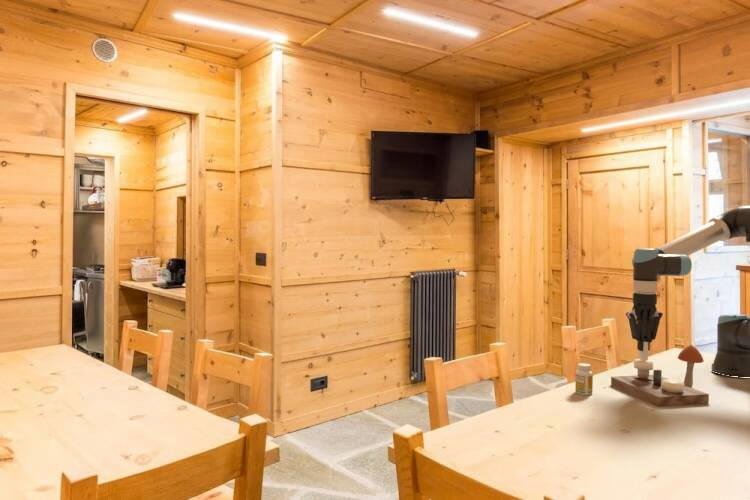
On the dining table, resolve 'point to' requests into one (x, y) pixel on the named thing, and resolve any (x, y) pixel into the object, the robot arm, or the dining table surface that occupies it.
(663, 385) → the knob
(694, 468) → the dining table surface
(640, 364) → the knob
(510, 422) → the dining table surface
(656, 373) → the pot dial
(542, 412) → the dining table surface
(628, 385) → the console
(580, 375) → the supplement bottle
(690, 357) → the mushroom
